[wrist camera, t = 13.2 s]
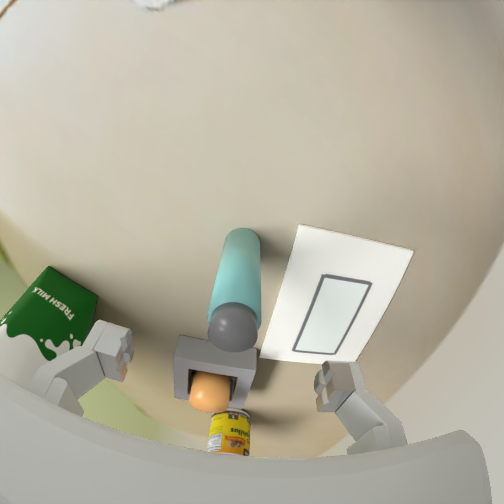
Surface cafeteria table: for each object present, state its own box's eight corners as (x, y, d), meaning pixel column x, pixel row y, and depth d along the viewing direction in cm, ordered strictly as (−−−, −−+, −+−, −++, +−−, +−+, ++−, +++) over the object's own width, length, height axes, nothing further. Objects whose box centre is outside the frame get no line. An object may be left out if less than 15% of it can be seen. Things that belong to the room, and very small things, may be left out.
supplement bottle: (258, 417, 35) (257, 479, 26) (228, 425, 36) (224, 483, 27) (233, 402, 33) (228, 469, 24) (203, 411, 34) (195, 473, 25)
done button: (194, 364, 26) (189, 390, 23) (233, 370, 26) (231, 397, 23) (193, 384, 28) (188, 409, 25) (228, 390, 28) (226, 415, 25)
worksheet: (299, 223, 21) (300, 226, 21) (411, 249, 22) (414, 252, 21) (259, 355, 28) (259, 358, 27) (351, 362, 29) (352, 366, 28)
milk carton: (42, 308, 27) (-36, 426, 9) (43, 254, 23) (-72, 386, 5) (97, 342, 28) (34, 480, 11) (107, 293, 25) (11, 466, 7)
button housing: (180, 334, 27) (173, 356, 24) (256, 348, 27) (256, 370, 25) (179, 378, 30) (174, 397, 28) (243, 389, 31) (242, 409, 28)
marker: (227, 225, 21) (206, 309, 12) (263, 231, 21) (267, 319, 12) (222, 256, 23) (201, 349, 13) (256, 262, 23) (255, 358, 14)
